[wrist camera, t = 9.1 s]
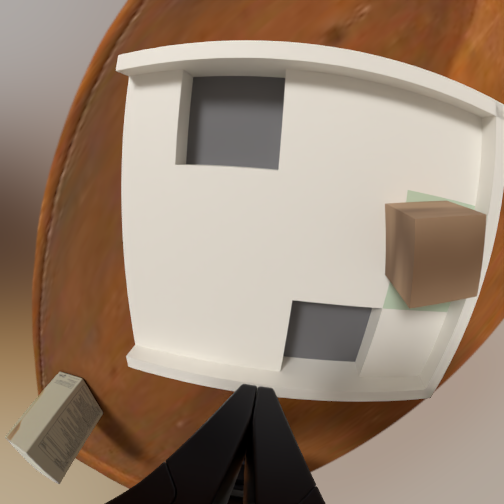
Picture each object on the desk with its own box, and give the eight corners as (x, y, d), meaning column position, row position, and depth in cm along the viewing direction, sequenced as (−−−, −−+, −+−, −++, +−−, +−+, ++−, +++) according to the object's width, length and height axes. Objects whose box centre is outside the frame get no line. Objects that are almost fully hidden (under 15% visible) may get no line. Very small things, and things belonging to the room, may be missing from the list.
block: (443, 267, 14) (476, 296, 10) (385, 274, 15) (409, 308, 11) (446, 200, 13) (486, 214, 9) (384, 203, 14) (415, 219, 10)
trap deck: (417, 369, 19) (430, 398, 15) (148, 340, 21) (128, 366, 18) (476, 111, 12) (506, 106, 9) (146, 69, 15) (118, 55, 11)
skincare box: (59, 369, 25) (1, 434, 14) (84, 377, 24) (23, 451, 13) (80, 407, 27) (34, 470, 16) (105, 415, 26) (59, 486, 15)
